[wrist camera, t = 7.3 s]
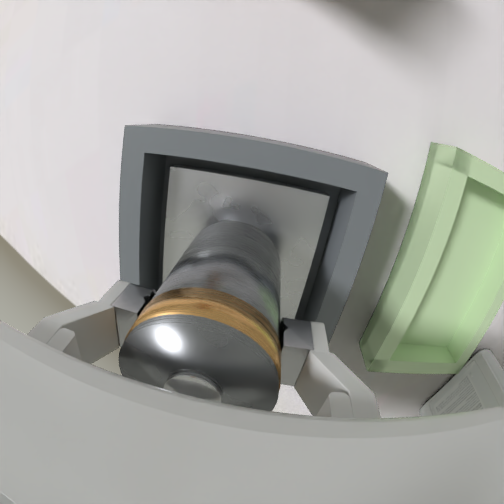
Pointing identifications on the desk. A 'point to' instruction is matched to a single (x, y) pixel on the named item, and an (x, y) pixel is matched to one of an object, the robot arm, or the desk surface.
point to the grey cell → (214, 321)
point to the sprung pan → (247, 219)
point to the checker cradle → (254, 165)
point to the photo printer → (470, 388)
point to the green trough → (442, 271)
